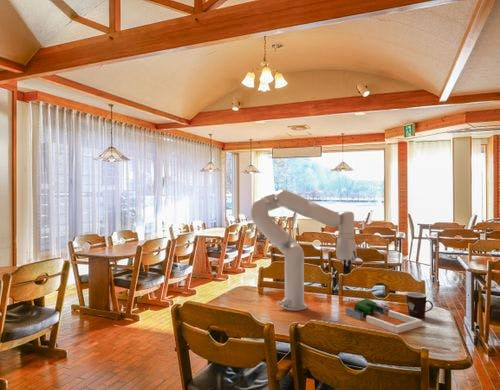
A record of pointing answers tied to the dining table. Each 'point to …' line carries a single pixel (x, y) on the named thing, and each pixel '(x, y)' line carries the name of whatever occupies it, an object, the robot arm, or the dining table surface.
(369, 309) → the green lumpy block
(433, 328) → the dining table surface
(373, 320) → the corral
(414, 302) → the coffee mug
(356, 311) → the vise
